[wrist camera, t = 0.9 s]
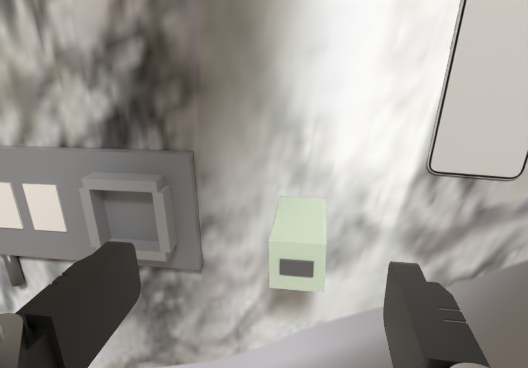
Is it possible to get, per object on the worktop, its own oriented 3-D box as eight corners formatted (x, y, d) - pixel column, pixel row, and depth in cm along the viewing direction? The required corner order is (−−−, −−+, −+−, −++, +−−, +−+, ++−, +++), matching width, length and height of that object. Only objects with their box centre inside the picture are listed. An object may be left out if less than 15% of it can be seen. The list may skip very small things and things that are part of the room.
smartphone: (424, 173, 29) (470, -37, 24) (422, 170, 30) (466, -35, 24) (522, 181, 29) (592, -36, 23) (517, 178, 29) (585, -34, 24)
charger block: (281, 196, 32) (268, 242, 25) (325, 198, 32) (326, 245, 24) (281, 234, 34) (268, 289, 26) (323, 237, 33) (323, 294, 26)
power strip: (-37, 144, 36) (-65, 152, 33) (192, 151, 32) (181, 160, 30) (7, 278, 42) (-15, 294, 39) (206, 296, 38) (197, 315, 35)
